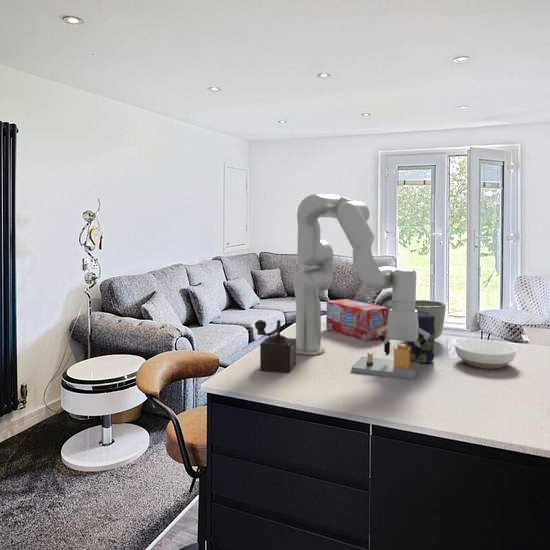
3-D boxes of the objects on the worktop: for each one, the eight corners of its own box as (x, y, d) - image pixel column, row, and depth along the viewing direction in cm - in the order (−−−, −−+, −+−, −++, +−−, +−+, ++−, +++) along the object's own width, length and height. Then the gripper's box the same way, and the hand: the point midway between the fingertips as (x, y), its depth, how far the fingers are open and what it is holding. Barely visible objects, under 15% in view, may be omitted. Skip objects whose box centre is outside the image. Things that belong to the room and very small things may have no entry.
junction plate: (351, 371, 160) (351, 367, 159) (361, 360, 172) (361, 356, 172) (413, 379, 151) (413, 374, 151) (419, 367, 164) (419, 362, 164)
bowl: (514, 359, 172) (515, 343, 172) (516, 375, 155) (517, 357, 154) (456, 353, 180) (457, 337, 180) (451, 368, 163) (452, 350, 162)
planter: (409, 334, 211) (410, 298, 209) (449, 339, 201) (451, 302, 199) (394, 342, 197) (395, 304, 195) (436, 348, 187) (438, 308, 185)
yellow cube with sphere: (393, 366, 160) (394, 346, 160) (396, 362, 165) (396, 342, 164) (408, 367, 158) (409, 347, 158) (410, 364, 163) (411, 344, 162)
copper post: (365, 369, 162) (366, 353, 161) (367, 367, 164) (367, 352, 163) (372, 370, 161) (372, 354, 160) (373, 368, 163) (374, 352, 162)
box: (389, 337, 206) (389, 306, 204) (366, 342, 199) (367, 309, 197) (346, 326, 229) (346, 298, 227) (325, 329, 221) (325, 300, 220)
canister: (435, 365, 166) (437, 314, 164) (407, 363, 168) (408, 313, 166) (432, 357, 175) (433, 309, 173) (405, 356, 177) (406, 308, 175)
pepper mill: (266, 362, 171) (265, 312, 169) (296, 364, 168) (296, 313, 166) (253, 375, 156) (252, 321, 154) (286, 378, 153) (285, 322, 151)
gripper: (375, 305, 159) (373, 356, 161) (429, 309, 152) (427, 362, 154) (379, 302, 166) (378, 350, 168) (432, 305, 159) (430, 356, 161)
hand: (402, 356), depth 161 cm, fingers open, 9 cm apart
